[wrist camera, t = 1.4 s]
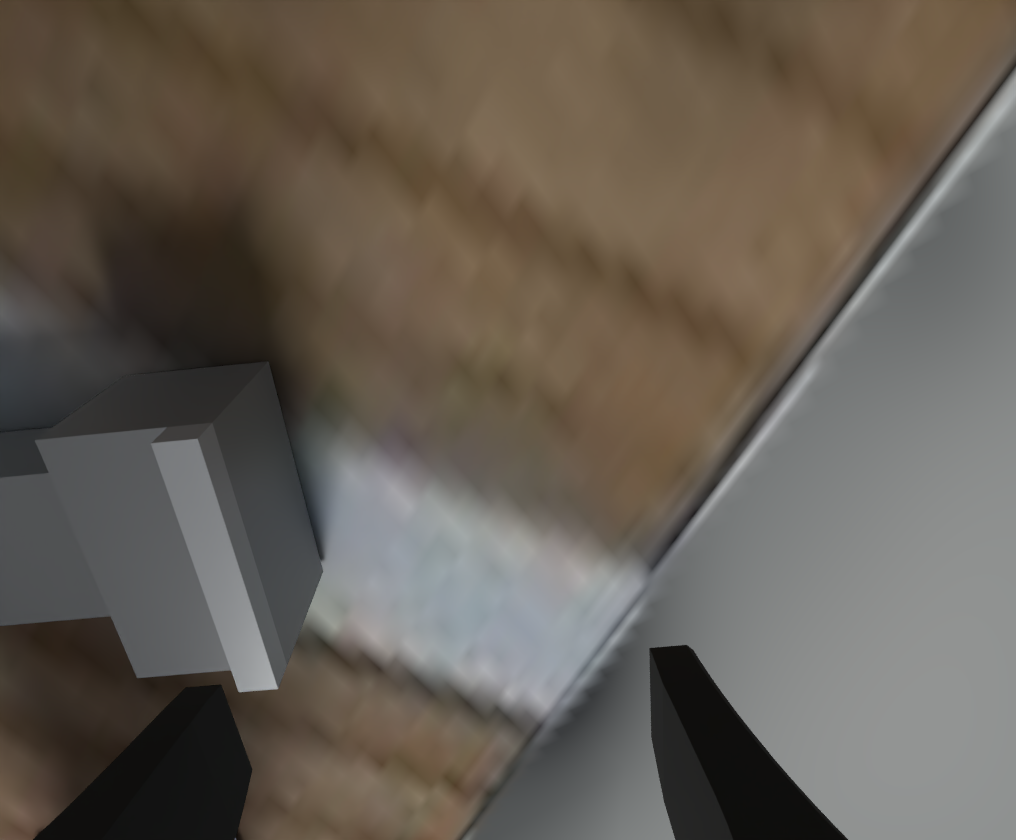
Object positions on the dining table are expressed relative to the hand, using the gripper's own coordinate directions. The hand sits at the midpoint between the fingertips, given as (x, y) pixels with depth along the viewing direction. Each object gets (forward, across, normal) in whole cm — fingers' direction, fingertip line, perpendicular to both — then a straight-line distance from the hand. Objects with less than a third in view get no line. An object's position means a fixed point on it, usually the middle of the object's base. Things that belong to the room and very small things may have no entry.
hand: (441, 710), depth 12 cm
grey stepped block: (+9, +9, 0) cm, 13 cm away
